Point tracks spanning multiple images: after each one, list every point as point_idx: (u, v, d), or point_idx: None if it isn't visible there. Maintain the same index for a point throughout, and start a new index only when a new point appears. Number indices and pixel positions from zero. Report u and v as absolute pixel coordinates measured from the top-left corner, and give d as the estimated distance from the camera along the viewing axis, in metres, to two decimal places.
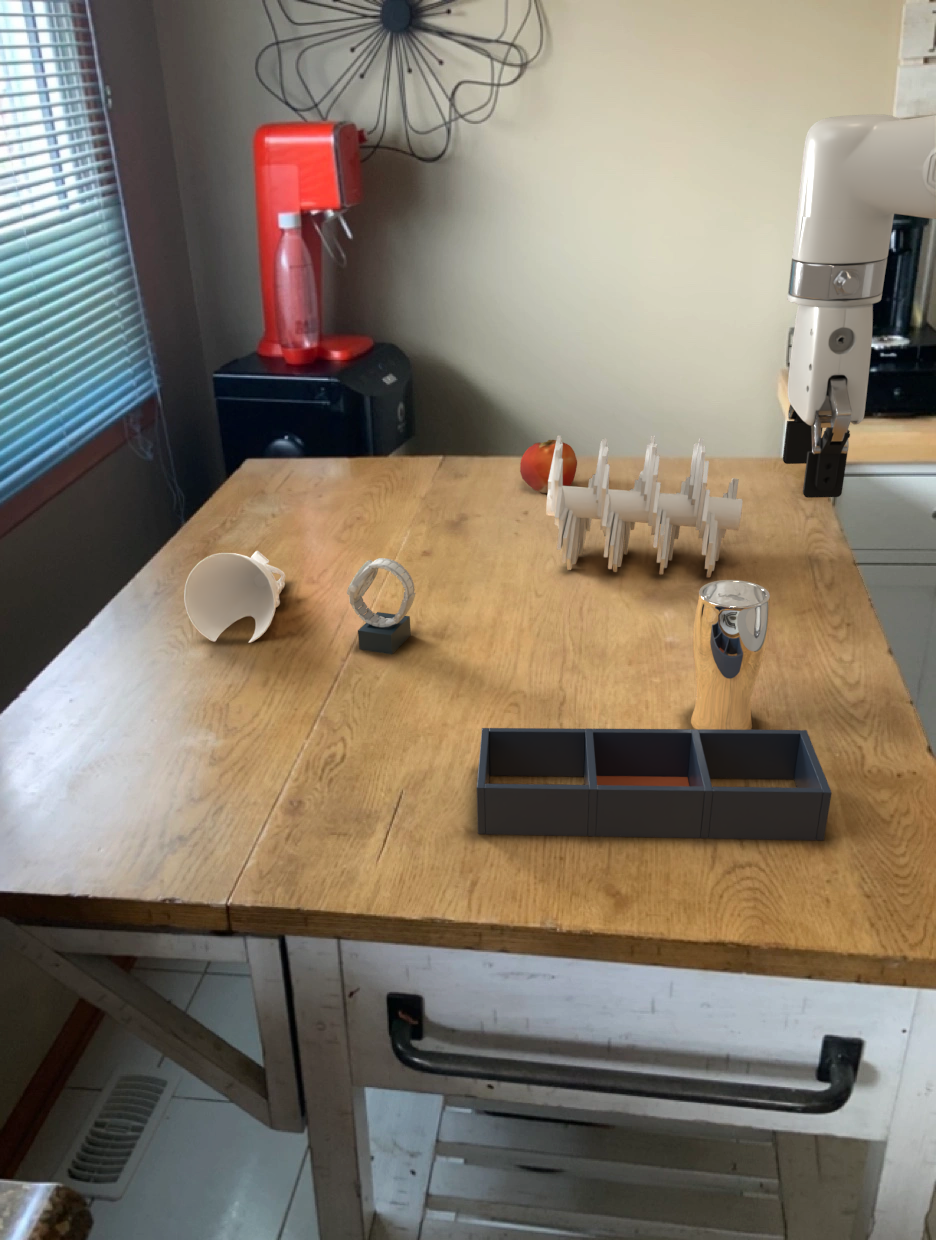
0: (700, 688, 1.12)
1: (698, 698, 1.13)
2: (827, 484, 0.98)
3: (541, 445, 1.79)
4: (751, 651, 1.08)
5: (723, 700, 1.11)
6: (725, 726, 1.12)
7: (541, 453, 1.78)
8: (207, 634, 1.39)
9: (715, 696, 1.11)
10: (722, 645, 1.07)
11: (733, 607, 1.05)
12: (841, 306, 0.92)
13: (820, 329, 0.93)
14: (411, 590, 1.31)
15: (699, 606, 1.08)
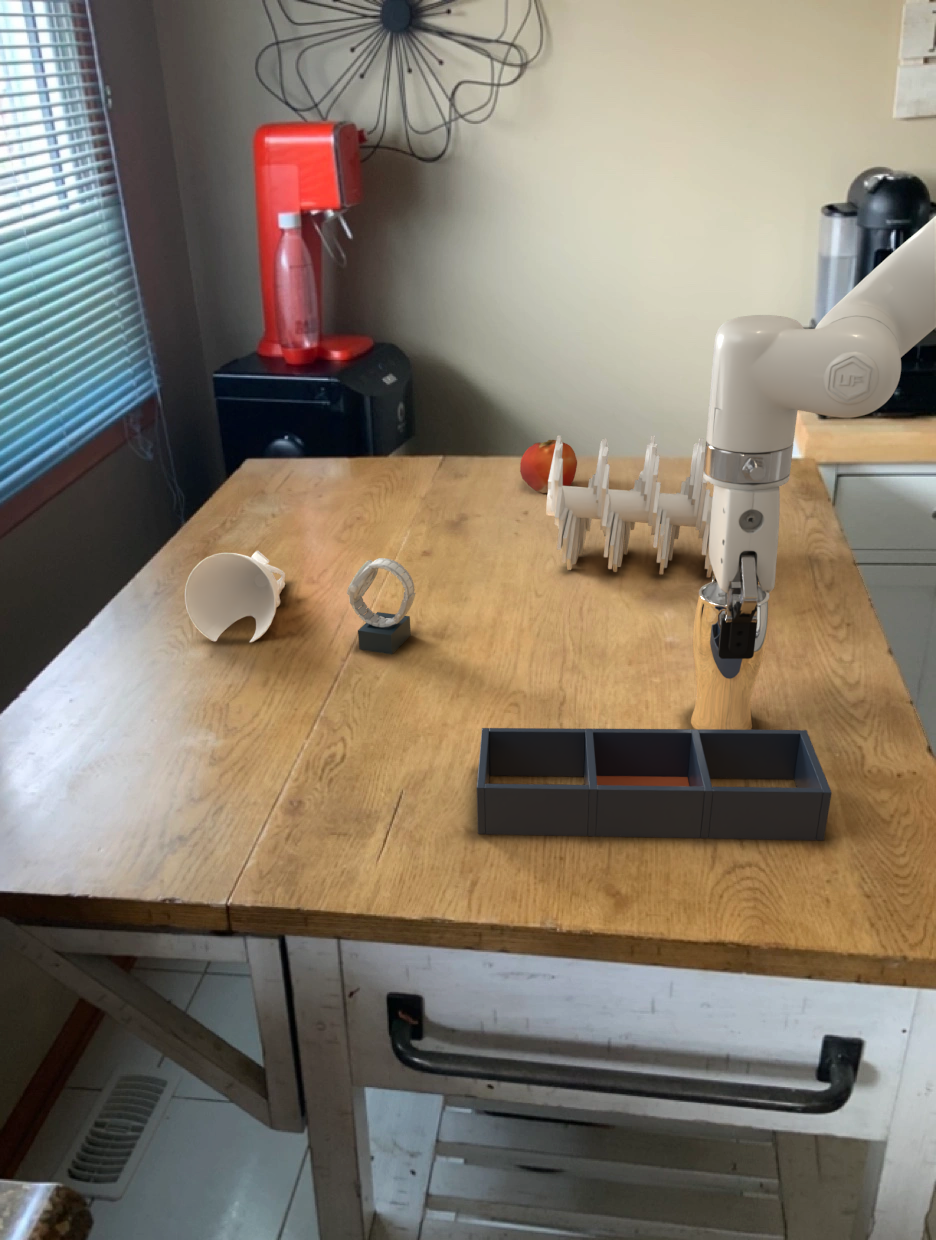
0: (700, 688, 1.12)
1: (698, 698, 1.13)
2: (739, 648, 1.06)
3: (541, 445, 1.79)
4: None
5: (723, 700, 1.11)
6: (725, 726, 1.12)
7: (541, 453, 1.78)
8: (208, 634, 1.39)
9: (715, 696, 1.11)
10: None
11: None
12: (750, 489, 0.99)
13: (731, 509, 1.00)
14: (411, 590, 1.31)
15: (699, 606, 1.08)
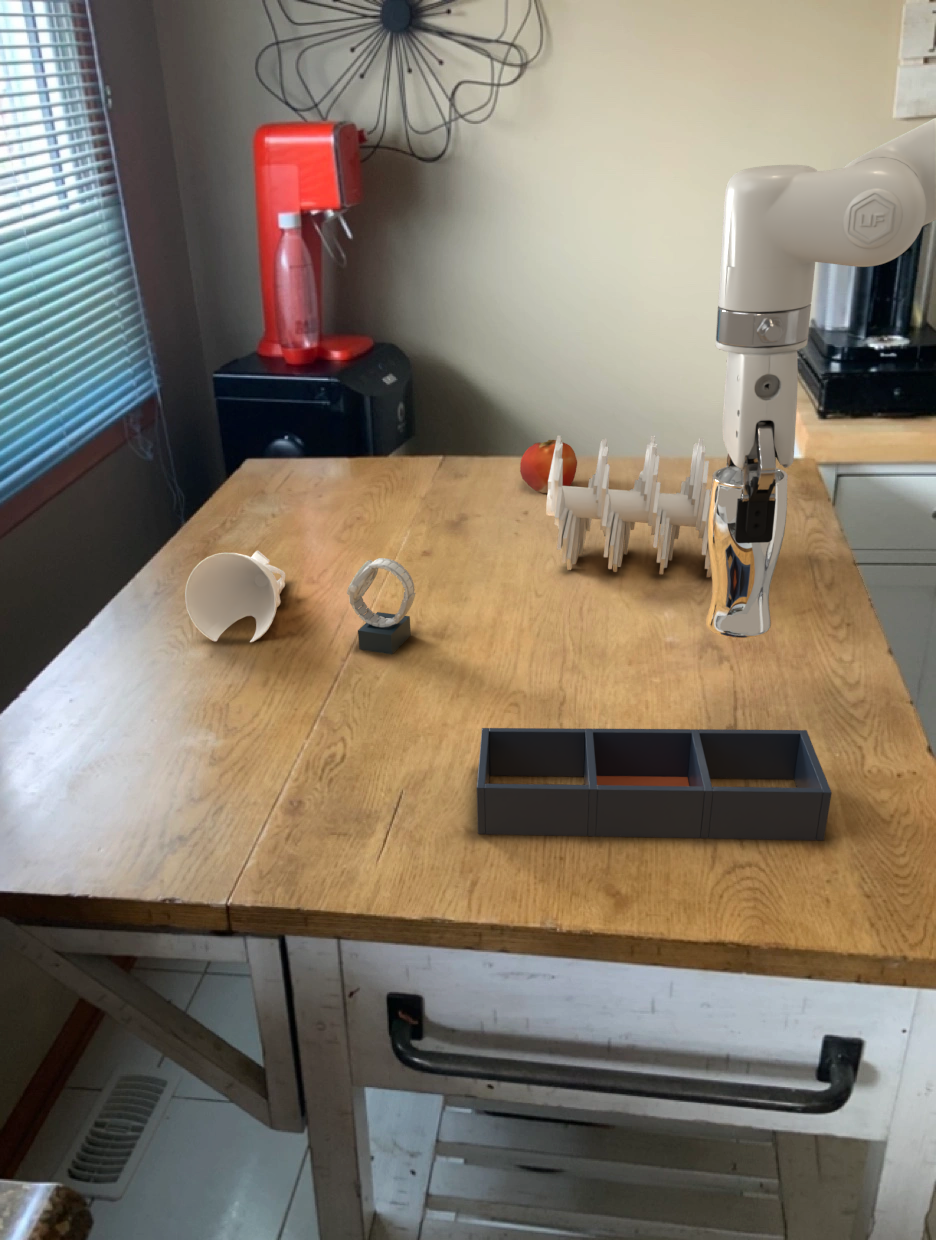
0: (716, 581, 1.06)
1: (714, 592, 1.08)
2: (757, 530, 1.00)
3: (541, 445, 1.79)
4: None
5: (740, 592, 1.05)
6: (743, 620, 1.06)
7: (541, 453, 1.78)
8: (208, 634, 1.39)
9: (732, 587, 1.05)
10: None
11: None
12: (766, 353, 0.93)
13: (746, 375, 0.94)
14: (411, 590, 1.31)
15: (713, 490, 1.03)
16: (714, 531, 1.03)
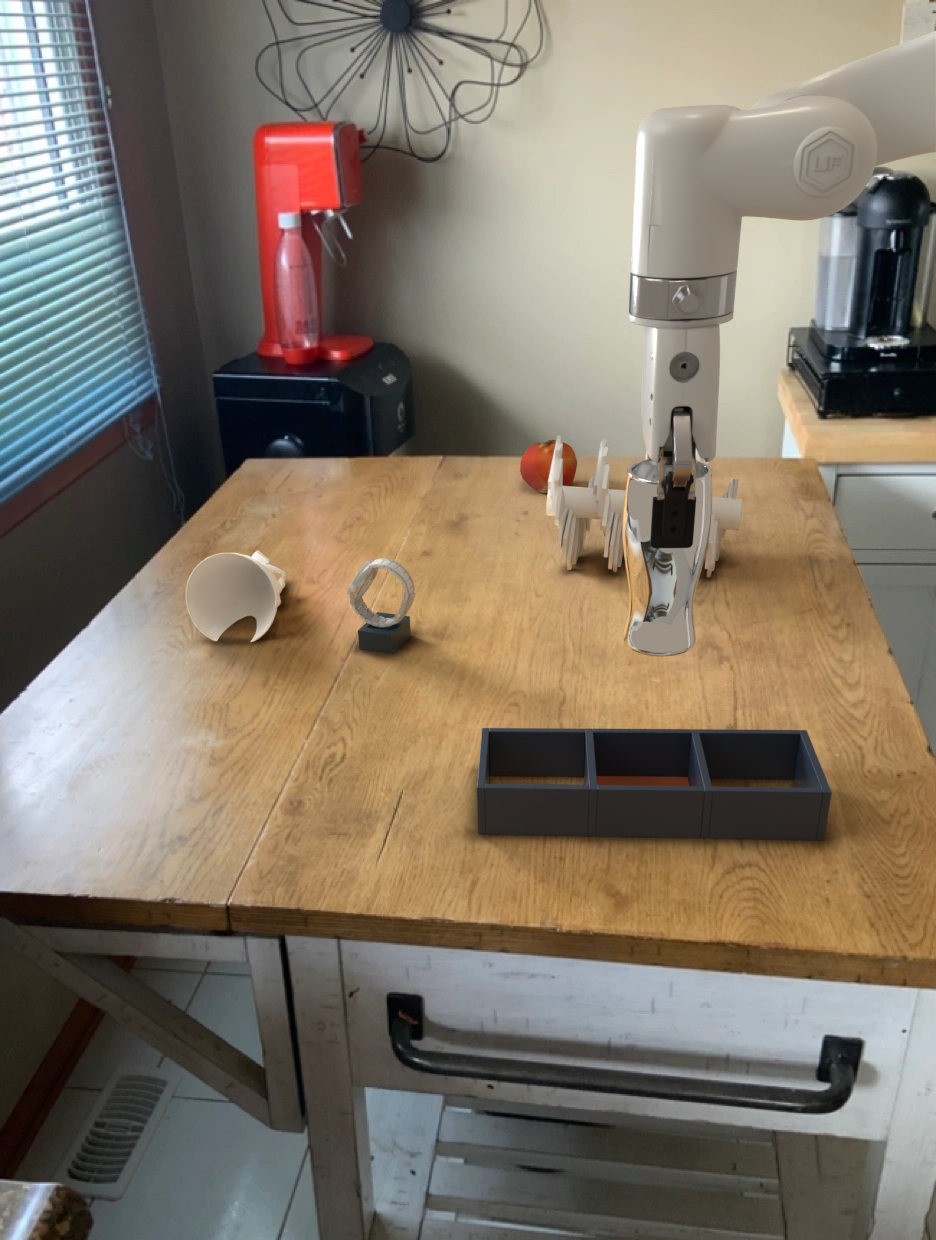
0: (632, 590, 0.93)
1: (630, 603, 0.94)
2: (675, 534, 0.86)
3: (541, 445, 1.79)
4: None
5: (658, 603, 0.92)
6: (662, 636, 0.93)
7: (541, 453, 1.78)
8: (209, 634, 1.39)
9: (649, 598, 0.92)
10: None
11: None
12: (682, 327, 0.80)
13: (659, 353, 0.80)
14: (411, 590, 1.31)
15: (627, 486, 0.89)
16: (628, 533, 0.90)
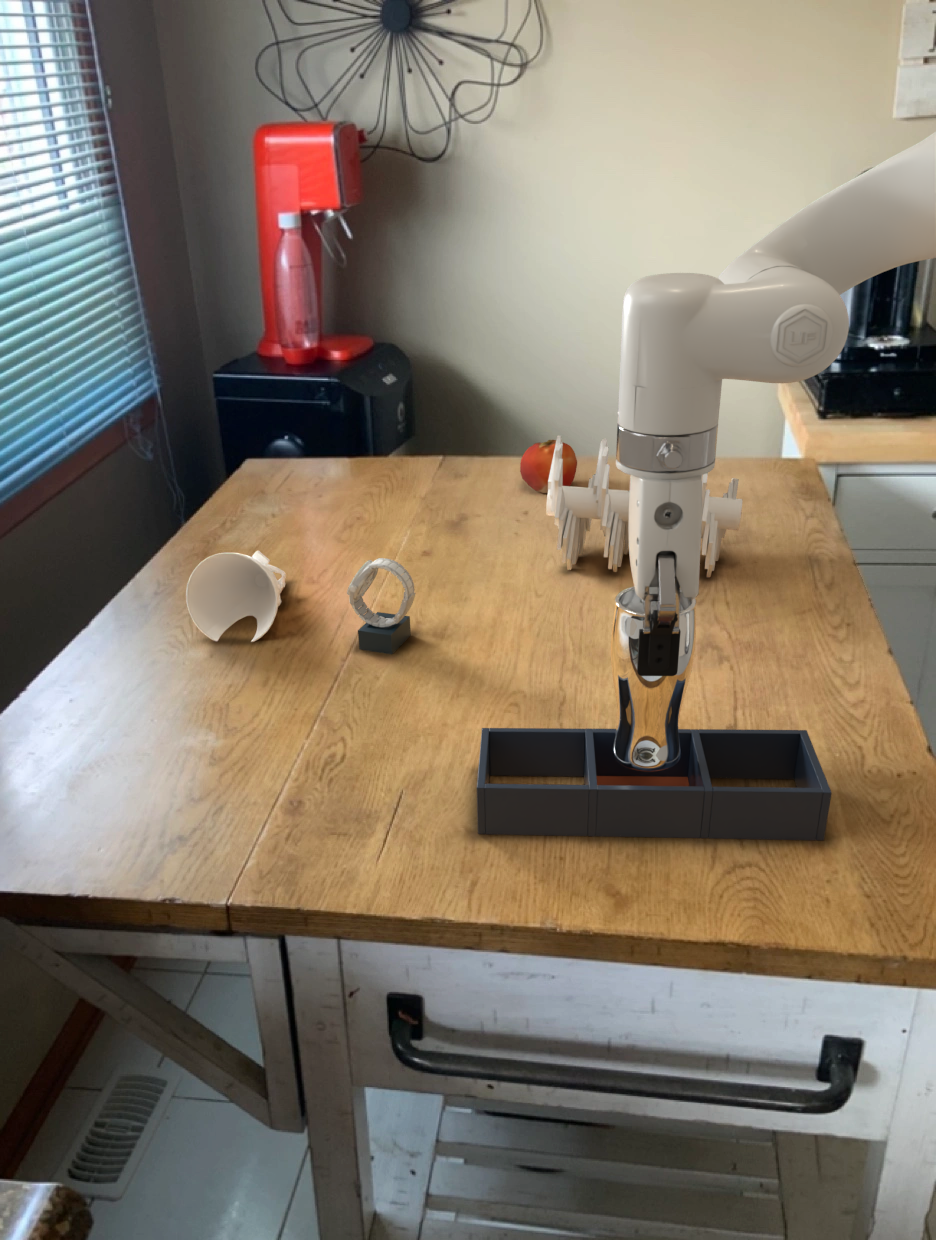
0: (620, 709, 0.97)
1: (618, 720, 0.99)
2: (660, 664, 0.91)
3: (541, 445, 1.79)
4: None
5: (645, 723, 0.96)
6: (648, 753, 0.97)
7: (541, 453, 1.78)
8: (209, 634, 1.39)
9: (636, 718, 0.96)
10: None
11: None
12: (667, 479, 0.84)
13: (645, 502, 0.85)
14: (411, 590, 1.31)
15: (615, 615, 0.94)
16: (616, 658, 0.95)
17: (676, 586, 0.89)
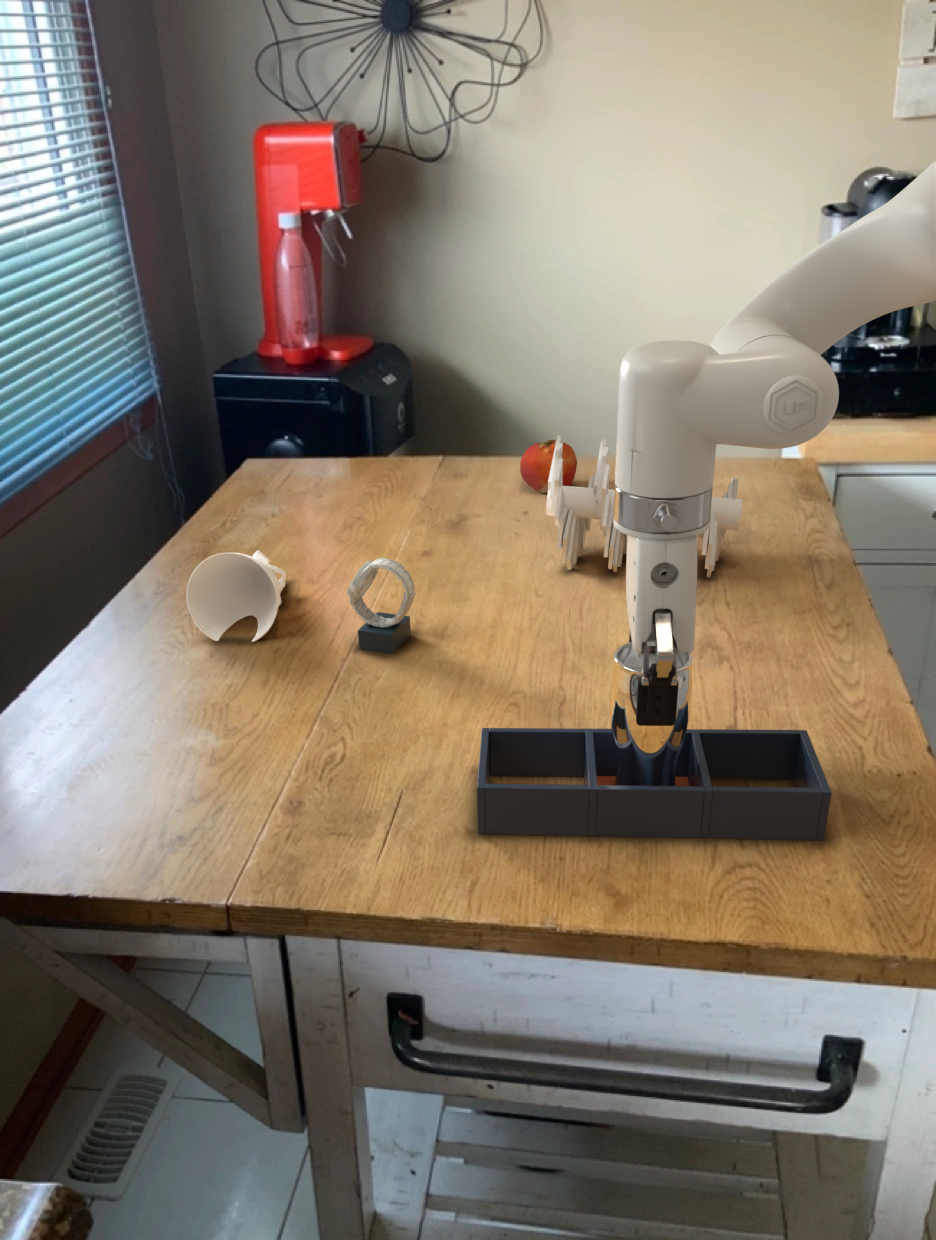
0: (618, 760, 1.00)
1: (617, 770, 1.01)
2: (659, 715, 0.92)
3: (541, 445, 1.79)
4: None
5: (643, 775, 0.99)
6: None
7: (541, 453, 1.78)
8: (210, 634, 1.39)
9: (635, 770, 0.99)
10: None
11: None
12: (663, 539, 0.87)
13: (642, 562, 0.87)
14: (411, 590, 1.31)
15: (614, 670, 0.96)
16: (615, 712, 0.97)
17: (673, 639, 0.91)
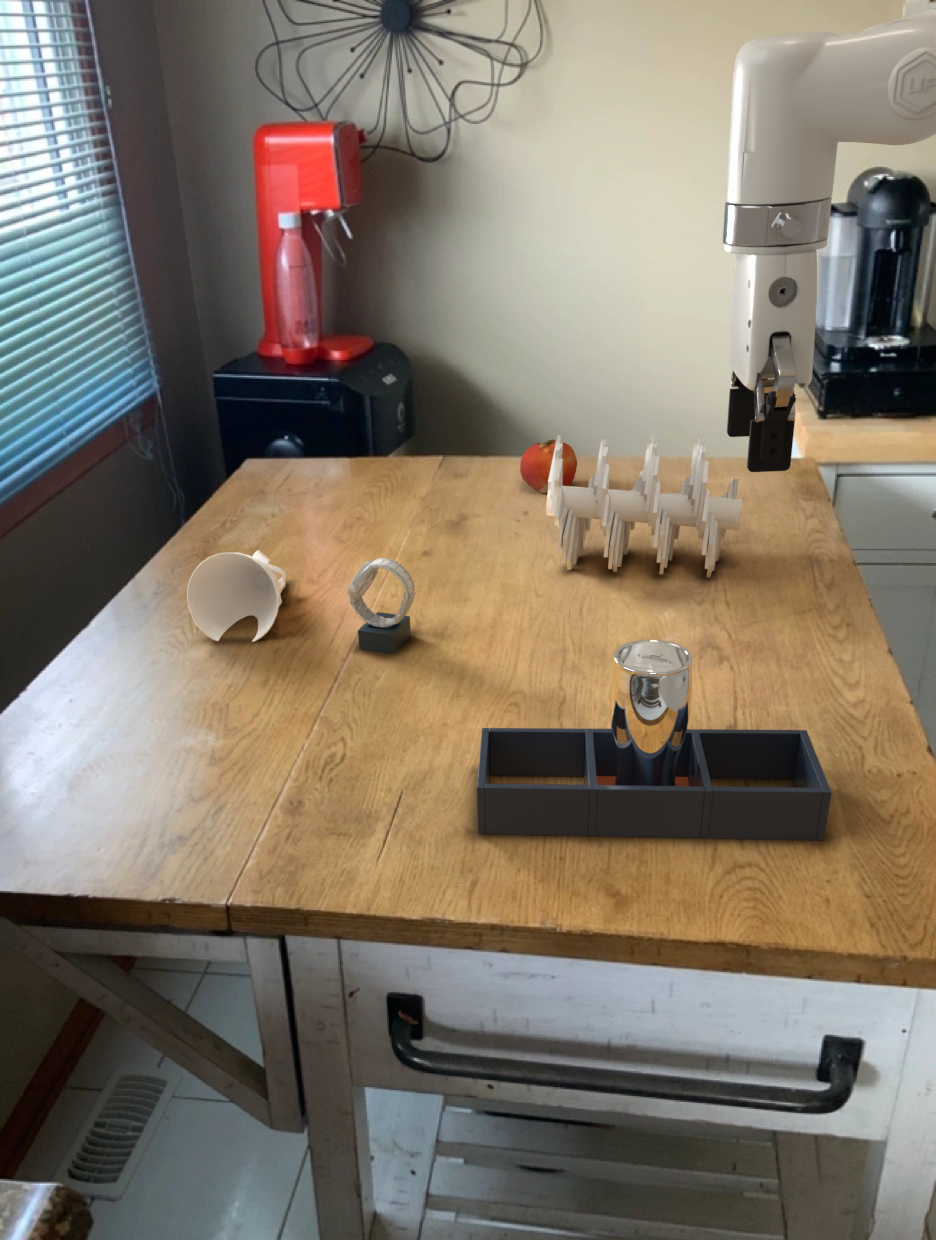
0: (618, 760, 1.00)
1: (617, 770, 1.01)
2: (773, 456, 0.87)
3: (541, 445, 1.79)
4: (672, 722, 0.95)
5: (643, 775, 0.99)
6: None
7: (541, 453, 1.78)
8: (210, 634, 1.39)
9: (635, 770, 0.99)
10: (638, 715, 0.95)
11: (649, 673, 0.93)
12: (781, 253, 0.82)
13: (759, 279, 0.82)
14: (411, 590, 1.31)
15: (614, 670, 0.96)
16: (615, 713, 0.97)
17: None
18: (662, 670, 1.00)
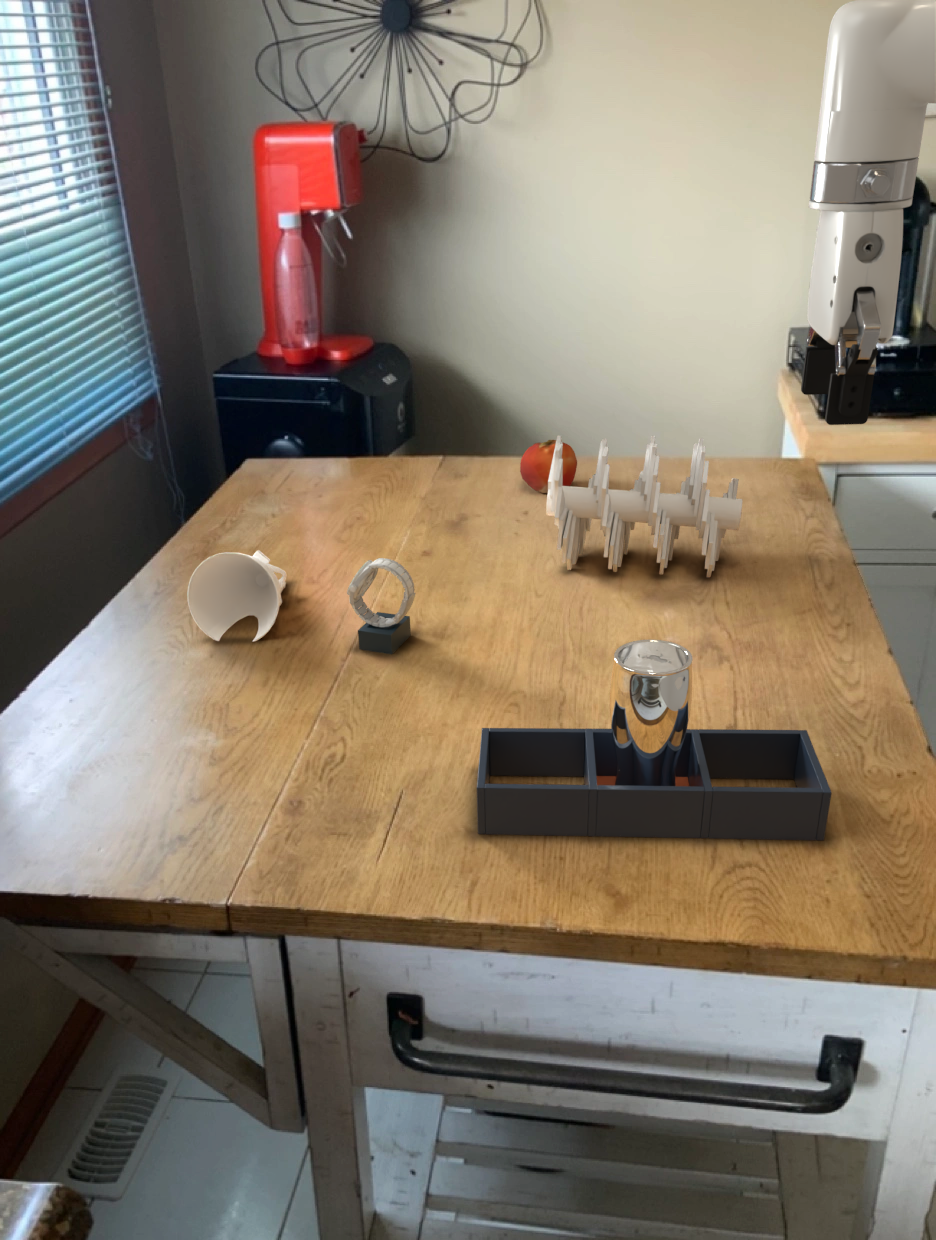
0: (618, 760, 1.00)
1: (617, 770, 1.01)
2: (852, 409, 0.90)
3: (541, 445, 1.79)
4: (672, 722, 0.95)
5: (643, 775, 0.99)
6: None
7: (541, 453, 1.78)
8: (210, 634, 1.39)
9: (635, 770, 0.99)
10: (638, 715, 0.95)
11: (650, 673, 0.93)
12: (869, 210, 0.85)
13: (846, 235, 0.85)
14: (411, 590, 1.31)
15: (614, 670, 0.96)
16: (615, 713, 0.97)
17: None
18: (662, 670, 1.00)
